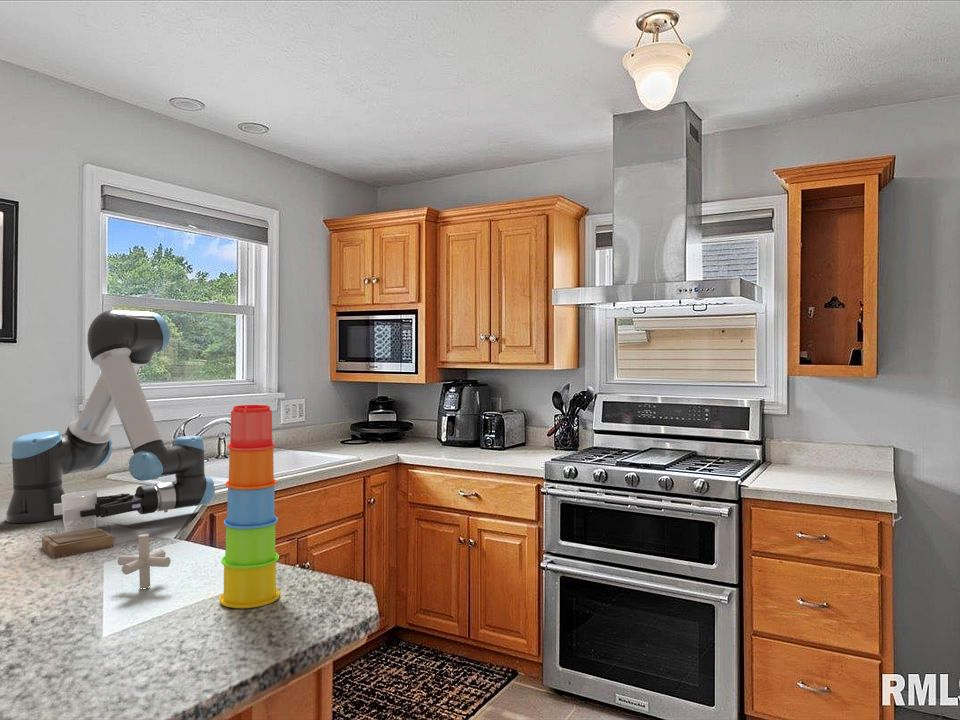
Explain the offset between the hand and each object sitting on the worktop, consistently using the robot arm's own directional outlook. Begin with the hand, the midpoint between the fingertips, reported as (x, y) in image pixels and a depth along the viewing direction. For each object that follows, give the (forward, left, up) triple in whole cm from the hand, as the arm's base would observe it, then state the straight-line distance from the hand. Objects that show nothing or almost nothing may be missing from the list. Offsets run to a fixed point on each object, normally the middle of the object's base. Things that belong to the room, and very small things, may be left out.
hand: (59, 512), depth 173 cm
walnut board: (+14, +1, -6) cm, 15 cm away
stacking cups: (+78, +13, -6) cm, 79 cm away
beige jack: (+57, +2, -6) cm, 57 cm away
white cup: (0, +5, -6) cm, 8 cm away
